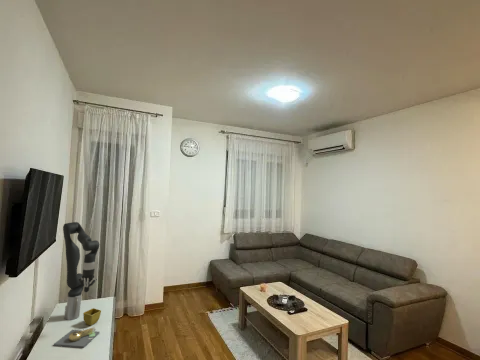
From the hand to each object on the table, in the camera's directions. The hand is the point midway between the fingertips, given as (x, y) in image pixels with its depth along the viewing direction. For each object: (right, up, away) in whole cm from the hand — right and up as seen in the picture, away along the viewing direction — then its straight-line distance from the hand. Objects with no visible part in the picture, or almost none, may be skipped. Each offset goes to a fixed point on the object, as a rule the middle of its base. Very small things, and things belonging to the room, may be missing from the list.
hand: (86, 291), depth 179 cm
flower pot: (0, -28, +6) cm, 28 cm away
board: (+3, -26, -13) cm, 30 cm away
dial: (+5, -25, -13) cm, 29 cm away
